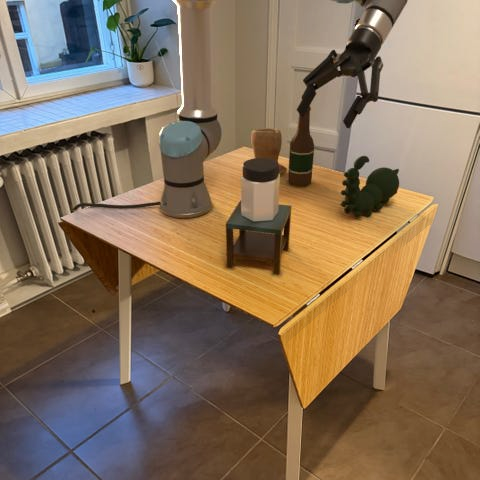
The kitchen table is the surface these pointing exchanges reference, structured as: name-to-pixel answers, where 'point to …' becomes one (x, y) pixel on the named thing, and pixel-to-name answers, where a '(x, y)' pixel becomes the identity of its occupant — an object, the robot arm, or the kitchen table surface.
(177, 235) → the kitchen table surface
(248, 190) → the jar
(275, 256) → the stand
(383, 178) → the toy figurine
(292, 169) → the beer bottle
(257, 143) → the tan piece
